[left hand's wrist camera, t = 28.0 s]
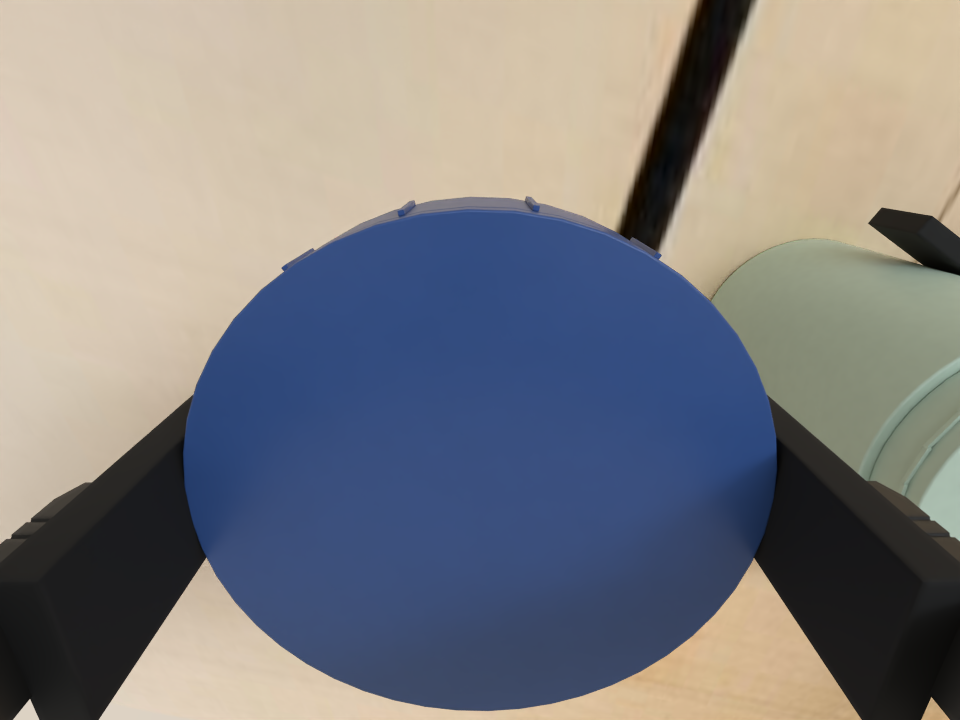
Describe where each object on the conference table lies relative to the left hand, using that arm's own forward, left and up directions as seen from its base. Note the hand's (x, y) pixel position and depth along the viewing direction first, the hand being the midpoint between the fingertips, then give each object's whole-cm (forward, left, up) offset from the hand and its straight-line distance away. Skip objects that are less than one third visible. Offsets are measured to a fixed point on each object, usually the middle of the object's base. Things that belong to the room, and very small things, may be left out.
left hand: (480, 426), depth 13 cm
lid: (0, 0, +3) cm, 3 cm away
